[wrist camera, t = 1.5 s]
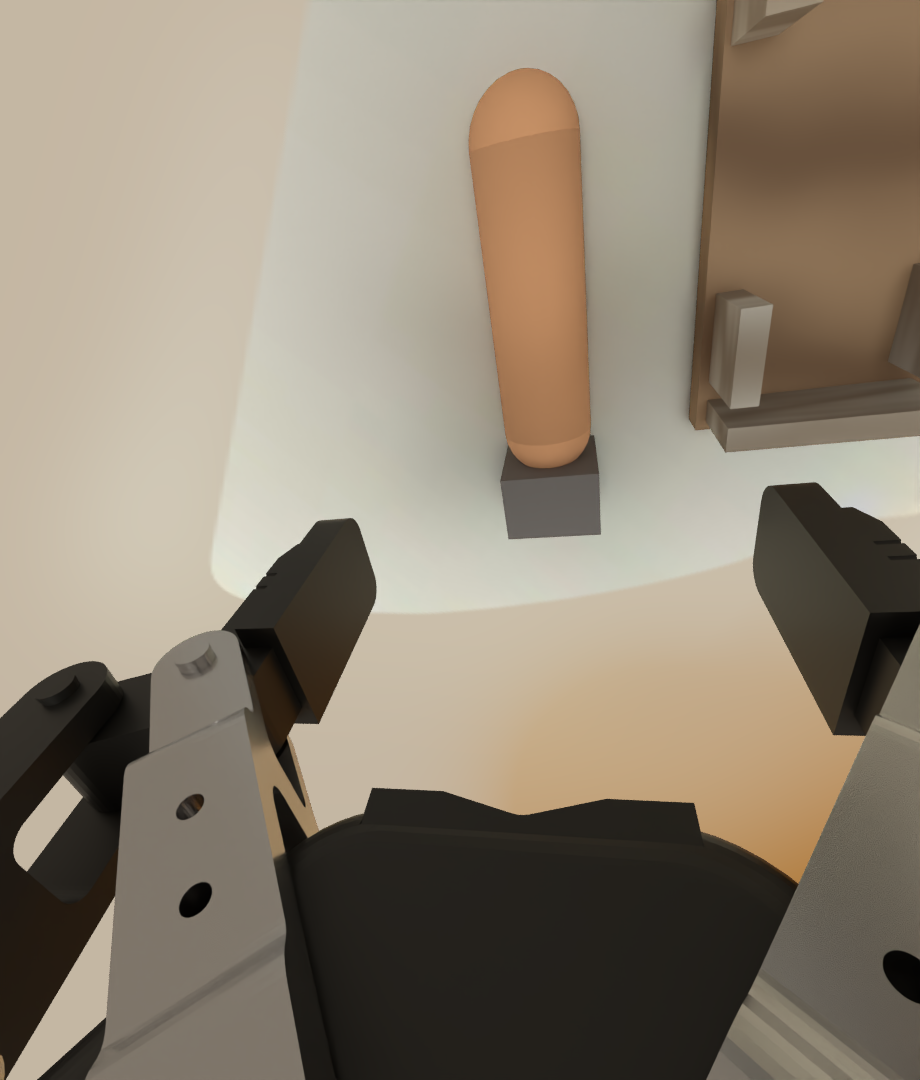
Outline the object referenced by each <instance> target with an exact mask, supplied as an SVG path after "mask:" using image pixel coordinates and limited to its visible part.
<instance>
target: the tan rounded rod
mask: <svg viewBox="0 0 920 1080" xmlns="http://www.w3.org/2000/svg"><path fill="white" fill-rule="evenodd" d="M469 156H470V164H471V171H472V179H473V187H474V194H475V202H476V210H477V218H478V225H479V233H480V241H481V248H482V256H483V264H484V272H485V279H486V287H487V295H488V303H489V310H490V318H491V326H492V333H493V341H494V349H495V357H496V364H497V372H498V380H499V387H500V395H501V403H502V411H503V418H504V426H505V434H506V439H507V443H508V449H507V454H506V458H505V463H504V467H503V472H502V476H501V481H500V482H501V489H502V496H503V503H504V510H505V517H506V524H507V531H508V538H509V539H523V538H542V537H561V536H580V535H599V534H601V527H600V494H599V471H598V463H597V455H596V447H595V439H594V436H590V428H591V417H590V391H589V364H588V337H587V311H586V284H585V257H584V230H583V204H582V177H581V150H580V128H579V119H578V114H577V111H576V107H575V104H574V102H573V100H572V98H571V96H570V94H569V92H568V91H567V89H566V88H565V87H564V86H563V84H562V83H561V82H560V81H559V80H558V79H556V78H555V77H554V76H552V75H551V74H549V73H547V72H544V71H542V70H539V69H531V68H522V69H517V70H514V71H511V72H509V73H507V74H505V75H504V76H502V77H500V78H499V79H497V80H496V81H495V82H494V83H493V84H492V85H491V86H490V87H489V88H488V89H487V91H486V92H485V93H484V95H483V96H482V98H481V99H480V101H479V103H478V105H477V107H476V109H475V112H474V114H473V118H472V121H471V125H470V132H469Z"/></svg>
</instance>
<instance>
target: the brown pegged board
mask: <svg viewBox="0 0 920 1080" xmlns="http://www.w3.org/2000/svg"><path fill="white" fill-rule="evenodd" d="M689 420H690V422H691V423H692V425H693V427H694V429H695V430H704V429H711V430H712V432H713V434H714V435H715V437H716V438H717V440H718V441H719V443H720V444H721V446H722V448H723V449H724V451H725V452H736V451H747V450H759V449H771V448H782V447H794V446H806V445H818V444H829V443H841V442H853V441H864V440H876V439H888V438H900V437H911V436H920V0H717V6H716V21H715V36H714V51H713V65H712V80H711V95H710V110H709V125H708V140H707V155H706V170H705V185H704V200H703V215H702V230H701V245H700V260H699V275H698V290H697V305H696V320H695V335H694V350H693V365H692V380H691V395H690V410H689Z"/></svg>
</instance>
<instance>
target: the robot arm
mask: <svg viewBox="0 0 920 1080" xmlns="http://www.w3.org/2000/svg"><path fill="white" fill-rule="evenodd" d="M916 556H917V555H916V554H915V553H914V552H913V551H912V550H911V549H910V548H909V547H908V546H907V545H906V544H904V543H902V544H901V539H899V537H898V536H897V535H895V533H894V532H892V531H891V530H890V529H889V528H888V527H887V526H886V525H885V524H884V523H883V522H882V521H880V520H878V519H876V518H874V517H872V516H870V515H868V514H866V513H863V512H861V511H859V510H857V509H855V508H853V507H848V508H841V507H840V506H839V505H838V504H837V503H836V502H835V501H834V500H833V498H832V497H831V496H830V495H829V494H828V493H827V492H826V491H825V490H824V489H823V488H822V487H821V486H820V485H819V484H818V483H815V482H813V483H800V484H787V485H775V486H768V487H766V489H765V490H764V492H763V495H762V500H761V507H760V514H759V521H758V528H757V535H756V542H755V549H754V557H753V572H754V579H755V583H756V586H757V589H758V592H759V594H760V596H761V598H762V599H763V601H764V603H765V605H766V607H767V609H768V611H769V613H770V615H771V616H772V618H773V620H774V622H775V624H776V626H777V628H778V630H779V632H780V634H781V636H782V638H783V640H784V642H785V643H786V645H787V647H788V649H789V651H790V653H791V655H792V657H793V659H794V661H795V663H796V664H797V666H798V668H799V670H800V672H801V674H802V676H803V678H804V680H805V682H806V684H807V685H808V687H809V689H810V691H811V693H812V695H813V697H814V699H815V701H816V703H817V705H818V707H819V708H820V710H821V712H822V714H823V716H824V718H825V720H826V722H827V724H828V726H829V728H830V730H831V732H832V733H833V735H854V736H855V735H856V736H866V737H865V739H864V741H863V743H862V746H861V748H860V751H859V753H858V754H857V757H856V759H855V761H854V763H853V765H852V768H851V770H850V772H849V774H848V776H847V779H846V781H845V783H844V785H843V788H842V790H841V792H840V794H839V796H838V799H837V801H836V803H835V805H834V807H833V809H832V812H831V814H830V816H829V818H828V821H827V823H826V825H825V827H824V829H823V832H822V834H821V836H820V839H819V840H818V843H817V845H816V847H815V849H814V851H813V854H812V856H811V858H810V860H809V863H808V865H807V867H806V869H805V871H804V874H803V876H802V878H801V880H800V882H799V884H798V883H797V882H795V881H794V880H793V879H792V878H790V877H789V876H788V875H786V874H785V873H783V872H782V871H780V870H779V869H777V868H775V867H774V866H773V865H771V864H770V863H768V862H767V861H765V860H764V859H762V858H760V857H758V856H756V855H754V854H753V853H751V852H749V851H747V850H745V849H743V848H741V847H739V846H737V845H735V844H733V843H730V842H728V841H725V840H723V839H721V838H718V837H716V836H713V835H710V834H706V833H703V832H701V831H700V827H699V823H698V818H697V814H696V810H695V805H694V803H682V802H660V801H639V800H618V799H617V800H616V799H604V800H599V801H594V802H589V803H584V804H579V805H574V806H570V807H564V808H560V809H554V810H549V811H545V812H540V813H535V814H530V815H516V814H512V813H509V812H506V811H502V810H500V809H496V808H493V807H490V806H487V805H484V804H481V803H478V802H475V801H472V800H468V799H465V798H462V797H459V796H456V795H453V794H450V793H447V792H444V791H427V790H406V789H384V788H372V790H371V793H370V797H369V800H368V803H367V806H366V809H365V812H364V814H360V815H356V816H353V817H350V818H347V819H344V820H342V821H339V822H337V823H335V824H333V825H330V826H328V827H326V828H324V829H322V830H320V831H319V829H318V826H317V823H316V820H315V817H314V814H313V811H312V807H311V804H310V800H309V797H308V793H307V791H306V787H305V783H304V780H303V776H302V773H301V770H300V766H299V763H298V760H297V756H296V753H295V749H294V746H293V744H292V741H291V740H290V738H289V736H288V734H289V732H290V730H291V728H292V726H293V724H294V723H300V724H301V723H302V724H304V723H305V724H319V722H320V720H321V718H322V716H323V714H324V712H325V709H326V707H327V705H328V703H329V701H330V698H331V696H332V694H333V691H334V690H335V688H336V686H337V683H338V681H339V679H340V677H341V675H342V673H343V671H344V668H345V666H346V664H347V662H348V660H349V658H350V655H351V653H352V651H353V649H354V647H355V644H356V642H357V640H358V638H359V636H360V634H361V632H362V629H363V627H364V625H365V623H366V621H367V619H368V616H369V614H370V612H371V610H372V608H373V606H374V603H375V599H376V580H375V575H374V572H373V569H372V566H371V563H370V560H369V556H368V553H367V550H366V547H365V544H364V541H363V538H362V535H361V531H360V528H359V526H358V524H357V522H356V521H355V520H354V519H352V518H347V519H334V520H321V521H318V522H316V523H315V525H314V526H313V527H312V528H311V530H310V531H309V532H308V534H307V535H306V536H305V538H304V539H303V540H302V541H301V543H300V544H297V545H296V546H295V547H293V548H292V549H290V550H289V551H288V552H286V553H285V554H284V555H282V556H281V557H279V558H278V559H277V561H276V562H275V563H274V564H273V566H272V567H271V568H270V569H269V571H268V572H267V573H266V575H267V576H266V577H263V578H262V579H261V581H260V582H259V583H258V585H257V586H256V589H254V590H253V591H252V592H251V593H250V595H249V596H248V597H247V598H246V600H245V601H244V602H243V603H242V605H241V606H240V607H239V608H238V610H237V611H236V612H235V613H234V615H233V616H232V617H231V618H230V620H229V621H228V622H227V623H226V625H225V626H224V627H223V628H222V630H219V631H210V632H205V633H202V634H199V635H196V636H193V637H191V638H189V639H187V640H185V641H183V642H182V643H180V644H178V645H177V646H175V647H174V648H172V649H171V650H170V651H169V652H168V653H166V654H165V655H164V656H163V657H162V658H161V659H160V661H159V662H158V663H157V664H156V666H155V668H154V670H153V672H152V673H150V674H146V675H142V676H138V677H135V678H130V679H126V680H123V681H119V682H117V681H116V680H115V678H114V677H113V676H112V674H111V673H110V671H109V670H108V669H107V667H106V666H105V665H104V664H103V663H101V662H95V661H91V662H83V663H79V664H76V665H72V666H70V667H67V668H65V669H62V670H60V671H58V672H56V673H54V674H52V675H51V676H49V677H47V678H46V679H44V680H43V681H41V682H40V683H38V684H37V685H36V686H34V687H33V688H32V689H30V690H29V691H28V692H27V693H26V694H25V695H24V696H23V697H22V698H21V699H20V700H19V701H18V702H17V703H16V704H15V705H14V706H12V707H11V708H10V709H9V710H8V711H7V712H6V713H5V714H4V715H3V717H1V718H0V1080H6V1078H7V1077H8V1075H9V1073H10V1071H11V1070H12V1068H13V1066H14V1065H15V1063H16V1061H17V1060H18V1058H19V1056H20V1055H21V1053H22V1051H23V1050H24V1048H25V1046H26V1045H27V1043H28V1041H29V1040H30V1038H31V1036H32V1034H33V1033H34V1031H35V1029H36V1028H37V1026H38V1024H39V1023H40V1021H41V1019H42V1018H43V1016H44V1014H45V1013H46V1011H47V1009H48V1008H49V1006H50V1004H51V1003H52V1001H53V999H54V997H55V996H56V994H57V993H58V991H59V989H60V987H61V986H62V984H63V982H64V981H65V979H66V977H67V976H68V974H69V972H70V971H71V969H72V967H73V966H74V964H75V962H76V961H77V959H78V957H79V956H80V954H81V952H82V950H83V949H84V947H85V945H86V944H87V942H88V940H89V939H90V937H91V935H92V934H93V932H94V930H95V929H96V927H97V925H98V923H99V922H100V920H101V918H102V917H103V915H104V913H105V912H106V910H107V908H108V907H109V905H110V903H111V902H112V900H113V898H114V897H115V906H114V920H113V933H112V947H111V961H110V974H109V988H108V1002H107V1016H106V1018H105V1019H104V1020H103V1021H101V1022H100V1023H99V1024H98V1025H97V1026H96V1027H95V1028H94V1029H93V1030H92V1031H90V1032H89V1033H88V1034H87V1035H86V1036H85V1037H84V1038H83V1039H82V1040H80V1041H79V1042H78V1043H77V1044H76V1045H75V1046H74V1047H73V1048H72V1049H71V1050H69V1051H68V1052H67V1053H66V1054H65V1055H64V1056H63V1057H62V1058H61V1059H60V1060H59V1061H57V1062H56V1063H55V1064H54V1065H53V1066H52V1067H51V1068H50V1069H49V1070H47V1071H46V1072H45V1073H44V1074H43V1075H42V1076H41V1077H40V1078H39V1079H37V1080H920V559H917V557H916ZM62 775H63V776H64V777H65V778H66V779H67V780H68V781H69V782H70V783H71V784H72V785H73V786H74V788H75V789H76V790H77V791H78V792H79V793H80V794H81V795H82V796H83V798H82V799H81V801H80V802H79V803H78V805H77V806H76V807H75V809H74V810H73V811H72V813H71V814H70V815H69V817H68V818H67V819H66V821H65V822H64V823H63V825H62V826H61V827H60V829H59V830H58V831H57V833H56V834H55V835H54V837H53V838H52V839H51V841H50V842H49V843H48V845H47V846H46V847H45V849H44V850H43V851H42V853H41V854H40V855H39V857H38V858H37V859H36V860H35V862H34V863H33V864H32V866H31V867H30V869H29V870H28V871H27V872H26V871H25V870H24V869H23V868H21V866H19V865H18V863H17V862H16V861H15V858H14V854H13V847H14V842H15V838H16V836H17V833H18V831H19V830H20V828H21V826H22V825H23V823H24V822H25V821H26V820H27V818H28V817H29V816H30V815H31V813H32V812H33V811H34V810H35V809H36V807H37V806H38V805H39V804H40V802H41V801H42V800H43V799H44V798H45V796H46V795H47V794H48V793H49V791H50V790H51V789H52V788H53V786H54V785H55V784H56V783H57V782H58V780H59V779H60V778H61V777H62Z"/></svg>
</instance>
